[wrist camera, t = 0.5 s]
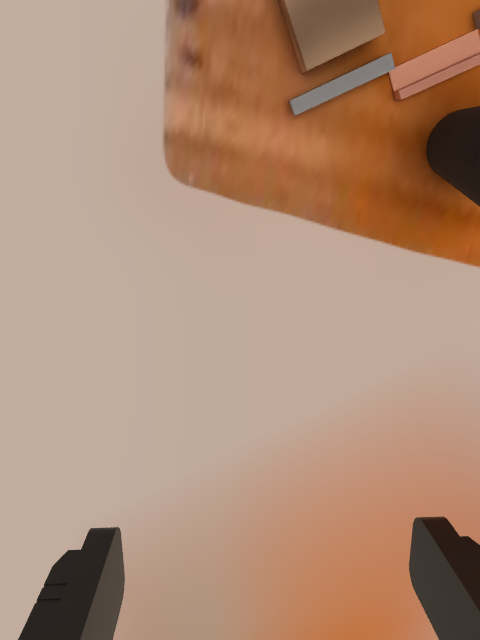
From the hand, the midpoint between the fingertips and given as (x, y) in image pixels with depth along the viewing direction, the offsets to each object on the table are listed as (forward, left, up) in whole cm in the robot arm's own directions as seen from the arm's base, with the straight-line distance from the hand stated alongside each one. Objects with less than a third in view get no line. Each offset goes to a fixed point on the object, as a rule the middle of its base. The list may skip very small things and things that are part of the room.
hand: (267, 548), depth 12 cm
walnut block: (-13, +10, -28) cm, 32 cm away
